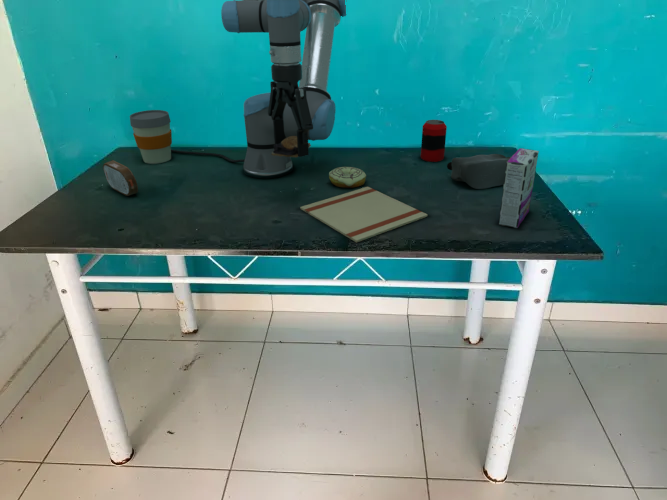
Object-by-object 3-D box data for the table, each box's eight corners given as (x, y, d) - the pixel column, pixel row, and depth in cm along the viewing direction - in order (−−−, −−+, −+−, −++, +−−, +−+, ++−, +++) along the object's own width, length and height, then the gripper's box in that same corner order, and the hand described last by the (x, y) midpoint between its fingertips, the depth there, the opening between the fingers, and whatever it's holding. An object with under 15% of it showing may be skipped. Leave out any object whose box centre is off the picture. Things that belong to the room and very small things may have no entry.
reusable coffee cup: (148, 152, 182) (139, 109, 175) (182, 153, 180) (175, 110, 173) (131, 164, 171) (121, 119, 164) (167, 166, 170) (159, 120, 162)
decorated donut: (353, 192, 147) (352, 180, 146) (322, 184, 153) (321, 172, 151) (372, 180, 155) (372, 168, 153) (342, 174, 160) (342, 162, 158)
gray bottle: (500, 171, 160) (503, 146, 156) (520, 184, 150) (524, 158, 147) (444, 177, 156) (446, 152, 152) (461, 191, 147) (464, 165, 143)
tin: (141, 196, 147) (135, 168, 143) (130, 200, 145) (124, 171, 141) (115, 183, 157) (109, 156, 152) (105, 186, 155) (98, 159, 150)
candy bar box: (509, 208, 136) (519, 147, 128) (529, 212, 134) (540, 150, 126) (496, 224, 128) (506, 160, 120) (517, 229, 126) (528, 164, 118)
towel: (300, 208, 138) (300, 206, 138) (367, 188, 150) (367, 186, 150) (356, 242, 121) (356, 240, 121) (427, 216, 133) (427, 214, 132)
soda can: (445, 162, 168) (449, 125, 162) (422, 162, 168) (424, 125, 163) (441, 154, 175) (444, 118, 169) (419, 154, 175) (421, 119, 169)
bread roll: (285, 143, 144) (284, 130, 142) (313, 146, 141) (313, 132, 140) (268, 155, 135) (267, 141, 133) (298, 158, 132) (297, 143, 131)
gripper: (250, 59, 134) (257, 141, 145) (298, 72, 117) (302, 164, 127) (276, 56, 138) (281, 136, 148) (326, 68, 121) (328, 158, 131)
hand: (291, 149), depth 138 cm, fingers closed on bread roll, 12 cm apart
